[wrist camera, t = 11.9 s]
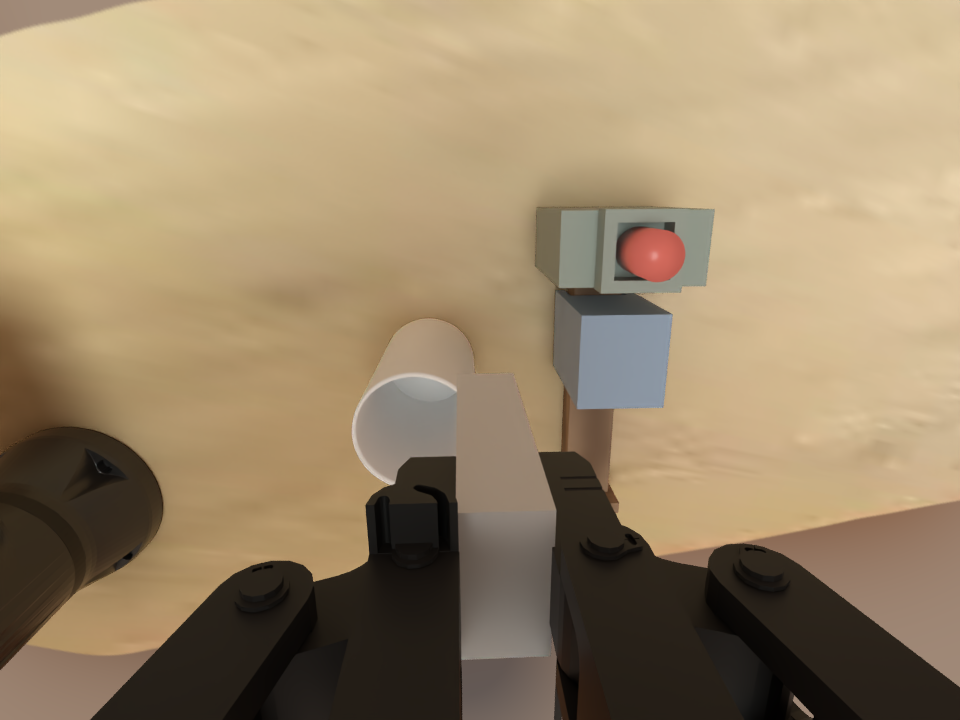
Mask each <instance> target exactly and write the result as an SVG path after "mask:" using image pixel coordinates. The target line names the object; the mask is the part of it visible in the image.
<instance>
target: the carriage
mask: <svg viewBox="0 0 960 720" xmlns="http://www.w3.org/2000/svg"><path fill="white" fill-rule="evenodd" d="M672 315H673V314H671V313H669V312H667V311H665V310H664V309H662V308H660V307H658V306H656V305H655V304H653V303H651V302H649V301H647V300H645V299H644V298H642V297H640V296H638V295H636V294H635V293H622V295H576V296H571V295H569V294H568V293H567V292H566V291H565V290H556V293H555V323H554V353H553V366H554V368H555V370H556V371H557V373H558V375H559V377H560V379H561V381H562V382H563V384H564V386H565V388H566V390H567V392H568V393H569V395H570V397H571V399H572V401H573V403H574V404H575V406H576V408H577V409H616V408H663V406H664V396H665V386H666V376H667V366H668V356H669V346H670V336H671V326H672Z"/></svg>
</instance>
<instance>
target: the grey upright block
mask: <svg viewBox="0 0 960 720" xmlns="http://www.w3.org/2000/svg"><path fill="white" fill-rule="evenodd" d="M714 211H715V209H695V208H672V207H550V208H537V209H536V254H535V266H536V267H537V268H538V269H539V270H540V271H541V272H542V273H543V274H544V275H545V276H546V277H547V278H548V279H550V280H551V281H552V282H553V283H554V284H555V285H556V286H557V287H558V288H594V289H595V290H596V291H598V292H599V293H601V294H609V293H681V288H682V286H706V280H707V271H708V263H709V254H710V245H711V237H712V228H713V220H714ZM638 226H642V227H649V228H655V229H662V230H668V231H671V232H673V233H675V234H676V235H678V236H679V237H680V239H681V240H682V242H683V244H684V247H685V260H684V263H683V266H682V268H681V269H680V271H679V272H678V273H677V274H676V275H675V276H674V277H672V278H671V279H669V280H667V281H663V282H651V281H648V280H646V279H643V278H641V277H639V276H637V275H634V274H632V273H630V272H627V271H626V270H624V269H623V268H621V267H620V265H619V264H618V262H617V260H616V244H617V241H618V239H619V238H620V236H621V235H622V234H623V233H624V232H625V231H627V230H628V229H630V228H633V227H638Z"/></svg>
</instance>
